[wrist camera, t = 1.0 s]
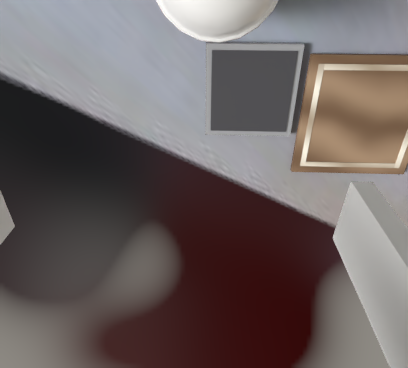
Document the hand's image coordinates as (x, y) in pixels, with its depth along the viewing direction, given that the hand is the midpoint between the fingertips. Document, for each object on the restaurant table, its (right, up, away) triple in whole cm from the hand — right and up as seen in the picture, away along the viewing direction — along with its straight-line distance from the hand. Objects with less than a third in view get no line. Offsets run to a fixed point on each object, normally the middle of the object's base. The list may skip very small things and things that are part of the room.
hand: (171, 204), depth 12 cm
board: (+19, +8, +25) cm, 33 cm away
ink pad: (+6, +11, +24) cm, 27 cm away
